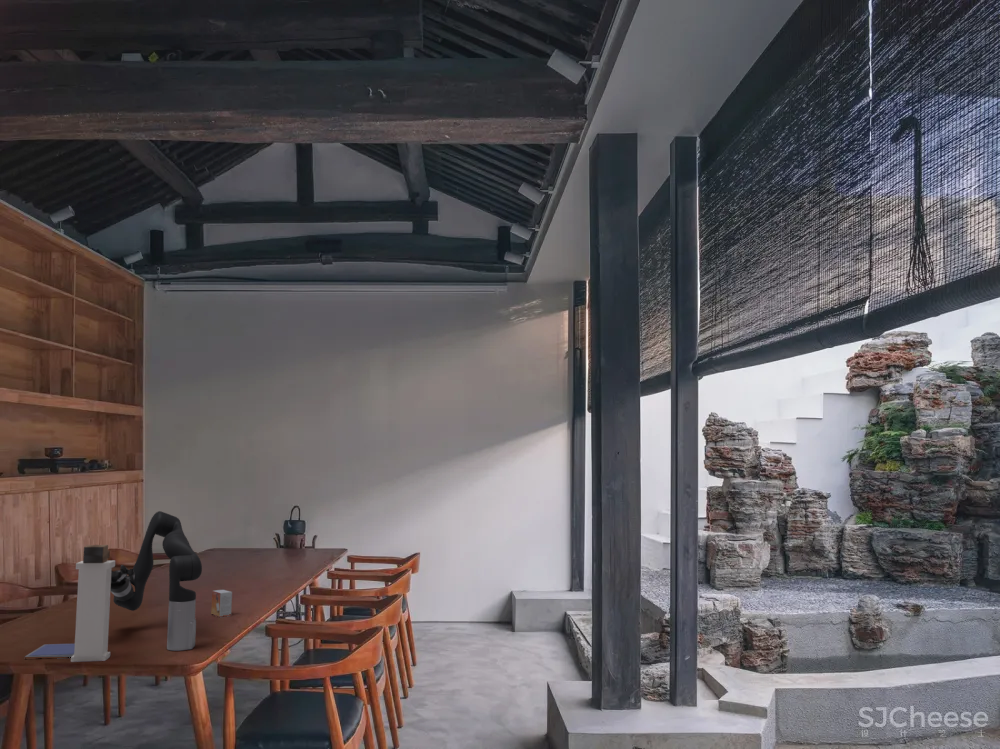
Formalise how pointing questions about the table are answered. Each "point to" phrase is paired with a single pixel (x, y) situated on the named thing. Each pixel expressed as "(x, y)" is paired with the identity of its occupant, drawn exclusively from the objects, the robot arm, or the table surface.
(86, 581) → the tall post
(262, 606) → the table surface
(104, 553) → the stamp
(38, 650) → the pad
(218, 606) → the small box
